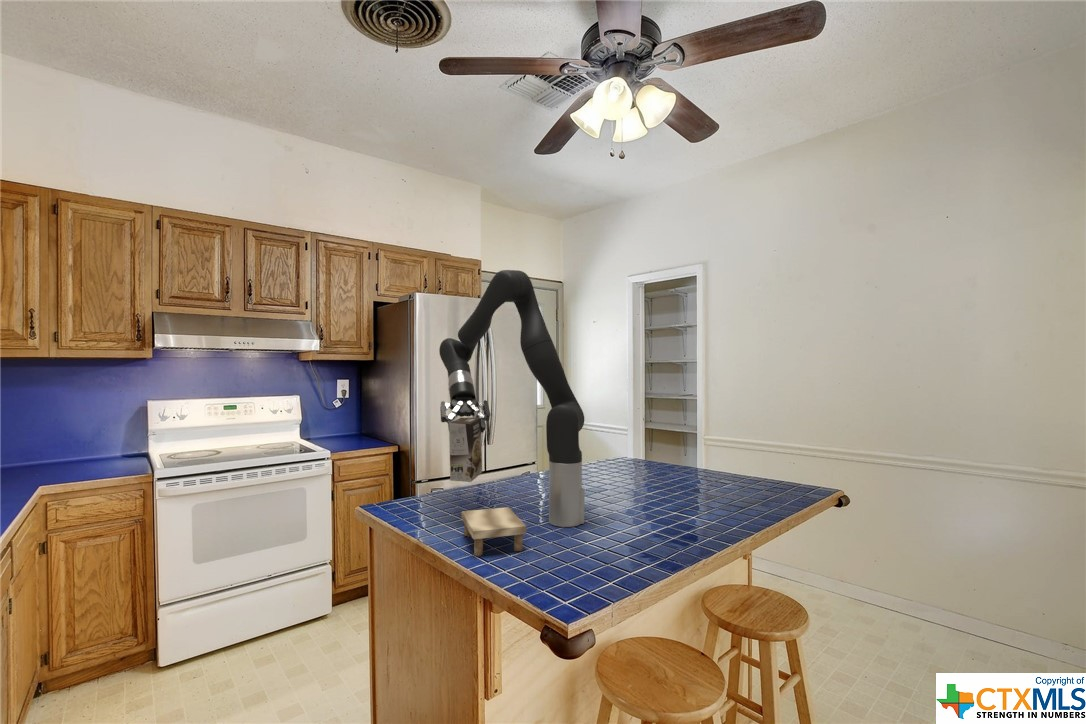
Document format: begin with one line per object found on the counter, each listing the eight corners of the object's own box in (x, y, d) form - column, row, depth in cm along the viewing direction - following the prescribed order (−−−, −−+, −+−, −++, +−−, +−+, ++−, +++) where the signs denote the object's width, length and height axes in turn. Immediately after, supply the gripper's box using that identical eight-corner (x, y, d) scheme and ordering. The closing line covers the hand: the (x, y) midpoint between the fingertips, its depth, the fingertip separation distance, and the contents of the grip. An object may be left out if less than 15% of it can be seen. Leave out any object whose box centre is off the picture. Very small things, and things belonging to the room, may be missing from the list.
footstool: (508, 529, 134) (508, 507, 134) (526, 551, 118) (526, 526, 119) (461, 534, 130) (461, 511, 130) (473, 557, 115) (473, 531, 115)
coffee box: (471, 482, 135) (470, 423, 134) (449, 481, 137) (447, 422, 135) (483, 472, 144) (481, 417, 143) (462, 471, 146) (460, 416, 144)
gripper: (438, 380, 148) (443, 424, 137) (486, 379, 152) (494, 422, 141) (436, 397, 153) (441, 440, 142) (483, 396, 157) (490, 438, 146)
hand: (468, 431), depth 142 cm, fingers closed on coffee box, 8 cm apart
